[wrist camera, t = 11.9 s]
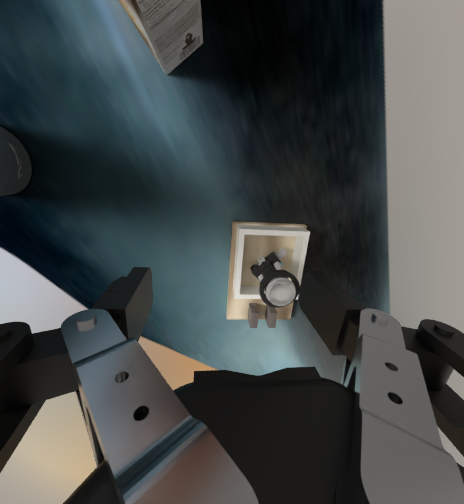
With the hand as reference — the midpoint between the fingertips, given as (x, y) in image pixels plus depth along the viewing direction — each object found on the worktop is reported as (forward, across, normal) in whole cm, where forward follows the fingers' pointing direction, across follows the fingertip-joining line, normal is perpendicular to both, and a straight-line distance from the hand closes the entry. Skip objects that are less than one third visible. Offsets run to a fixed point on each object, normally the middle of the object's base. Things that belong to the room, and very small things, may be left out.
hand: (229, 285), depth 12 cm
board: (+25, -9, +11) cm, 28 cm away
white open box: (+23, -9, +8) cm, 26 cm away
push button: (+24, -10, +8) cm, 27 cm away
